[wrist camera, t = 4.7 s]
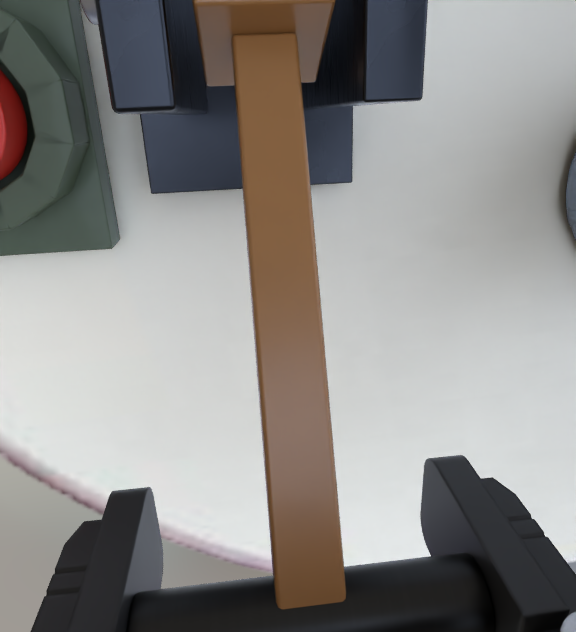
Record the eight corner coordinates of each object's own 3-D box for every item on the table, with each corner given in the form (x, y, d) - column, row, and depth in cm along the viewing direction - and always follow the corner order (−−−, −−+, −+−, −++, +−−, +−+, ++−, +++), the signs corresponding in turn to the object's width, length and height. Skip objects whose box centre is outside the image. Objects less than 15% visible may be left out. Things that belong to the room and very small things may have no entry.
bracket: (346, 179, 21) (491, 259, 9) (155, 189, 20) (52, 290, 9) (347, -115, 17) (593, -610, 6) (113, -114, 17) (-174, -672, 5)
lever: (451, 600, 9) (520, 684, 7) (152, 638, 9) (118, 743, 7) (386, -50, 10) (427, -172, 8) (109, -45, 10) (64, -172, 7)
